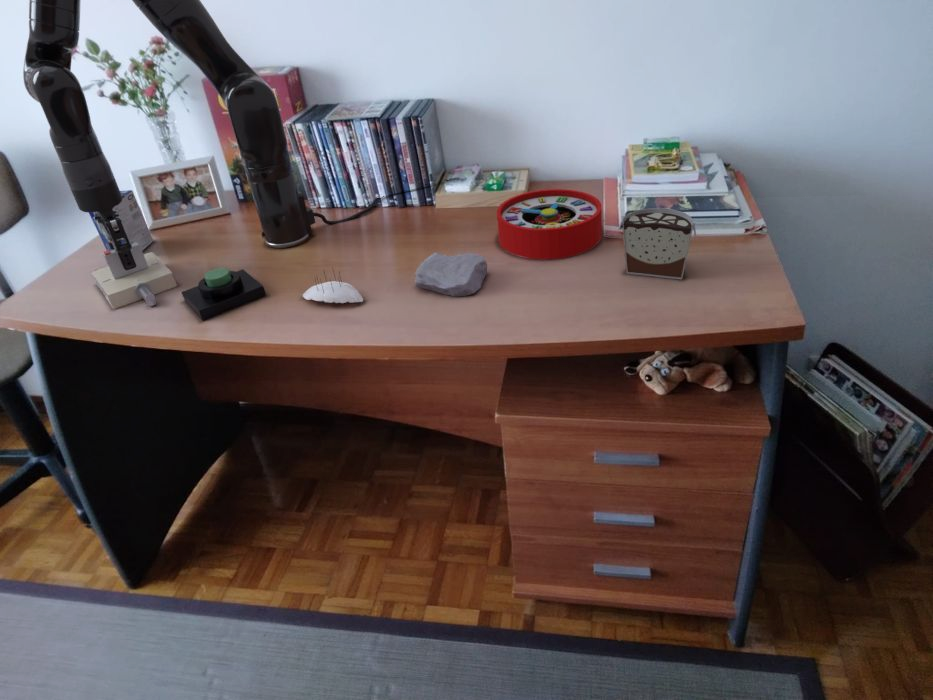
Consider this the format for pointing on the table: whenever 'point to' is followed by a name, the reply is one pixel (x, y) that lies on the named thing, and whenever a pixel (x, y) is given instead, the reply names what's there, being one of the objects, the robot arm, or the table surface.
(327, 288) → the pincushion
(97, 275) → the block
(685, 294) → the table surface
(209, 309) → the button housing
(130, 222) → the ink cartridge box
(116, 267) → the pale grey rectangular block
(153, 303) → the spout
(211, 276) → the push button
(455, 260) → the stone block
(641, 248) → the food container
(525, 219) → the toy clock
